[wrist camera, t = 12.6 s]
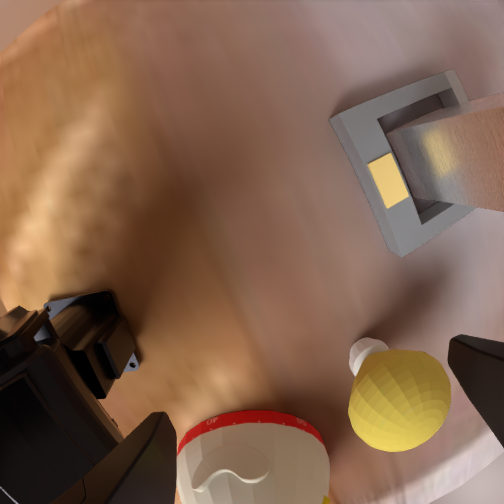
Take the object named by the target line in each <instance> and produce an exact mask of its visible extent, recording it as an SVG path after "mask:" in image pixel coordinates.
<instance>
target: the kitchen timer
mask: <svg viewBox="0 0 504 504" xmlns="http://www.w3.org/2000/svg"><path fill="white" fill-rule="evenodd" d="M329 479H330V463H329V457H328V454H327V451H326V448H325V445H324V443H323V440H322V438H321V435H320V433H319V432H318V431H317V430H316V429H315V428H314V427H313V426H312V425H311V424H310V423H308V422H306V421H304V420H302V419H300V418H298V417H295V416H293V415H290V414H285V413H280V412H275V411H270V410H244V411H238V412H232V413H226V414H221V415H219V416H216V417H213V418H211V419H208V420H205V421H203V422H201V423H200V424H198V425H197V426H195V427H194V428H193V429H191V430H190V431H188V432H187V433H186V435H185V436H184V438H183V439H182V441H181V442H180V444H179V447H178V453H177V482H176V483H177V488H178V492H179V496H180V499H181V502H182V504H329V503H330V499H329V498H328V490H329Z"/></svg>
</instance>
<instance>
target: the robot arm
mask: <svg viewBox="0 0 504 504" xmlns="http://www.w3.org/2000/svg"><path fill="white" fill-rule="evenodd" d="M106 294H108V295H109V296H110V299H108V298H106ZM48 306H49V307H50V308H51V310H50V309H49V307H48ZM43 308H44V309H42V310H39V311H37V310H34V311H31V312H30V311H27V310H26V309H24V308H23V307H21V306H17V307H15V308H13V309H12V310H10V311H9V312H7V313H6V314H4V315H3V316H2V317H0V504H174V501H175V492H176V482H177V436H176V431H175V429H174V427H173V425H172V423H171V421H170V419H169V417H168V415H167V413H166V412H164V411H162V412H153V413H151V414H150V415H149V416H148V417H147V418H146V419H145V420H144V421H143V422H142V423H141V424H140V425H139V426H137V427H136V428H135V429H134V430H133V431H132V432H131V433H130V434H129V435H128V436H127V437H126V438H125V439H124V437H123V435H122V433H121V432H120V430H119V429H118V425H117V423H116V422H115V421H114V419H111V418H110V416H109V415H108V414H107V412H106V411H105V409H104V408H103V407H102V405H101V404H100V402H99V401H98V400H97V399H105V398H106V396H107V394H108V393H109V391H110V389H111V387H112V385H113V383H114V381H115V379H120V377H121V375H122V373H123V372H128V371H136V370H138V368H139V366H140V361H139V359H138V356H137V354H136V351H135V349H136V345H135V343H134V340H133V337H132V335H131V332H130V329H129V327H128V324H127V321H126V319H125V317H124V316H122V314H121V311H120V308H119V305H118V303H117V300H116V297H115V294H114V292H113V291H112V290H110V289H104V290H99V291H95V292H90V293H85V294H81V295H76V296H71V297H66V298H62V299H57V300H52V301H48V302H46V303H45V304H44V307H43ZM131 362H133V363H135V365H132V364H131ZM448 364H449V367H450V368H451V370H452V372H453V373H454V375H455V377H456V378H457V380H458V382H459V383H460V385H461V387H462V388H463V390H464V392H465V394H466V395H467V397H468V398H469V400H470V401H471V403H472V404H473V405H474V407H475V408H476V409H477V411H478V412H479V413H480V415H481V416H482V418H483V419H484V420H485V422H486V423H487V425H488V426H489V427H490V429H491V430H492V432H493V433H494V435H495V436H496V437H497V439H498V440H499V442H500V443H501V445H502V446H503V448H504V342H499V341H494V340H488V339H483V338H478V337H473V336H468V335H463V334H460V335H457V336H455V337H453V338H451V340H450V342H449V351H448Z"/></svg>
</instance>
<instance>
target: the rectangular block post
mask: <svg viewBox="0 0 504 504" xmlns="http://www.w3.org/2000/svg"><path fill="white" fill-rule="evenodd" d="M386 136H387V138H388V140H389V142H390V144H391V146H392V148H393V150H394V153H395V155H396V157H397V159H398V161H399V164H400V166H401V168H402V171H403V173H404V175H405V178H406V180H407V182H408V185H409V187H410V190H411V192H412V195H413V197H414V198H419V199H427V200H434V201H441V202H448V203H454V204H461V205H467V206H473V207H479V208H485V209H491V210H496V211H502V212H504V93H500V94H496V95H492V96H488V97H484V98H480V99H476V100H472V101H468V102H464V103H460V104H457V105H453V106H449V107H446V108H442V109H439V110H435V111H432V112H430V113H428V114H426V115H424V116H422V117H419V118H417V119H415V120H413V121H411V122H409V123H407V124H405V125H403V126H401V127H398V128H396V129H394V130H392V131H390V132H388V133H386Z"/></svg>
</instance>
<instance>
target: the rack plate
mask: <svg viewBox="0 0 504 504" xmlns="http://www.w3.org/2000/svg"><path fill="white" fill-rule="evenodd" d="M436 93H437V94H438V96H439V98H440V100H441V102H442V104H443V106H444V108H446V107H449V106H453V105H457V104H460V103H464V102H468V101H469V99H468V97H467V94H466V92H465V90H464V88H463V86H462V84H461V82H460V80H459V78H458V76H457V74H456V72H455V70H454V69H451V70H448V71H445V72H442V73H439V74H437V75H434V76H431V77H428V78H425V79H423V80H420V81H417V82H414V83H412V84H409V85H407V86H404V87H401V88H399V89H396V90H394V91H391V92H389V93H386V94H384V95H381V96H379V97H376V98H374V99H371V100H369V101H367V102H364V103H362V104H359V105H357V106H355V107H352V108H350V109H348V110H346V111H343V112H341V113H339V114H337V115H335V116H334V117H332V118H330V119H329V121H330V123H331V125H332V127H333V129H334V131H335V133H336V135H337V137H338V138H339V140H340V142H341V144H342V146H343V148H344V150H345V152H346V154H347V156H348V158H349V160H350V162H351V164H352V167H353V169H354V171H355V173H356V175H357V177H358V179H359V181H360V184H361V186H362V188H363V190H364V192H365V195H366V197H367V199H368V201H369V204H370V206H371V208H372V211H373V213H374V215H375V218H376V220H377V222H378V225H379V227H380V230H381V232H382V235H383V237H384V240H385V242H386V245H387V247H388V250H389V251H390V252H392V253H394V254H396V255H398V256H400V257H404V256H405V255H407V254H409V253H410V252H412V251H413V250H415V249H416V248H418V247H420V246H421V245H423V244H424V243H426V242H427V241H429V240H430V239H432V238H433V237H435V236H436V235H438V234H439V233H441V232H442V231H444V230H445V229H447V228H448V227H450V226H451V225H453V224H454V223H455V222H457V221H458V220H460V219H461V218H463V217H464V216H466V215H467V214H468V213H470V212H471V211H473V210H474V209H475V208H477V207H473V206H467V205H461V204H454V203H448V202H441V201H439V202H438V203H436V204H434V205H433V206H431V207H430V208H428V209H426V210H425V211H423V212H421V213H420V214H418V213H417V210H416V208H415V205H414V202H413V200H412V197H411V195H410V192H409V189H408V187H407V184H406V182H405V180H404V177H403V175H402V172H401V170H400V168H399V165H398V163H397V161H396V159H395V156H394V154H393V152H392V150H391V147H390V145H389V143H388V141H387V139H386V137H385V135H384V133H383V131H382V129H381V126H380V124H379V122H378V120H377V119H378V118H380V117H382V116H384V115H387V114H389V113H391V112H394V111H396V110H398V109H400V108H403V107H405V106H407V105H410V104H412V103H415V102H417V101H419V100H422V99H424V98H427V97H429V96H431V95H434V94H436Z"/></svg>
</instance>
